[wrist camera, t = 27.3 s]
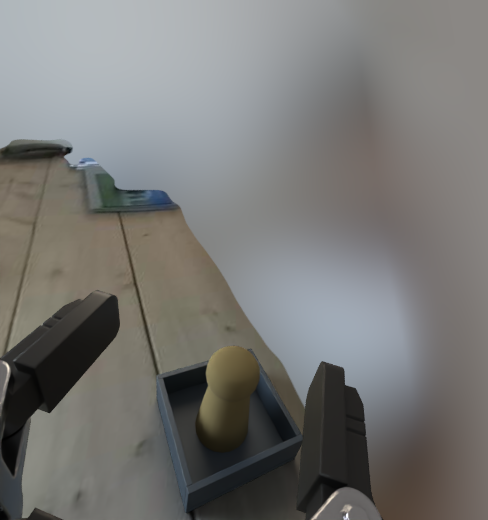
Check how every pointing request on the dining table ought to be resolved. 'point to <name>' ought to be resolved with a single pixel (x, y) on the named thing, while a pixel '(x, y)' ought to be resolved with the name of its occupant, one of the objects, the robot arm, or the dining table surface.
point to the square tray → (216, 463)
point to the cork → (227, 399)
